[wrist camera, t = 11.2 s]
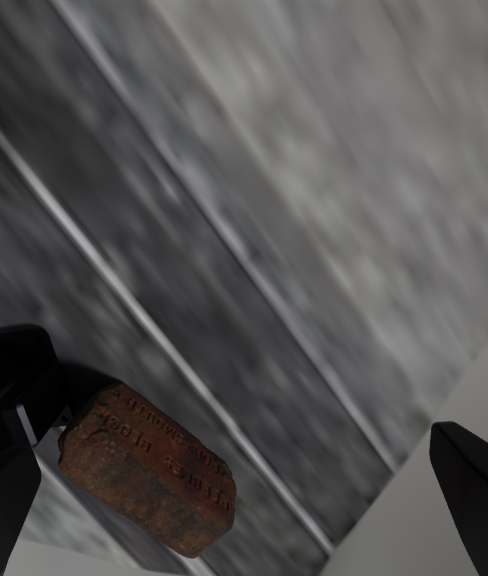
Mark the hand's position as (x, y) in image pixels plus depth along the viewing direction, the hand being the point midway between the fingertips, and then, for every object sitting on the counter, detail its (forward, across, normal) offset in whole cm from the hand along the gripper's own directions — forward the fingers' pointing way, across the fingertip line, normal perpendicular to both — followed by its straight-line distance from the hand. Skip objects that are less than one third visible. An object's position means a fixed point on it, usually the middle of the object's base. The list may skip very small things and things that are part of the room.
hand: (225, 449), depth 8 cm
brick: (+13, +7, +11) cm, 18 cm away
